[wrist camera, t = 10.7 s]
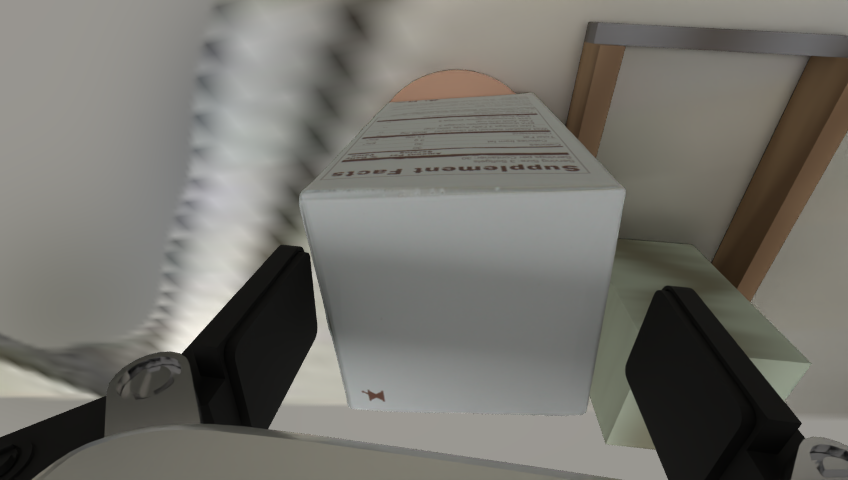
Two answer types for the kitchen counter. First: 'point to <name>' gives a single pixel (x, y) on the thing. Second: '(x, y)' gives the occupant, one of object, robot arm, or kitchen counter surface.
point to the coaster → (452, 86)
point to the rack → (751, 226)
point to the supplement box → (465, 258)
